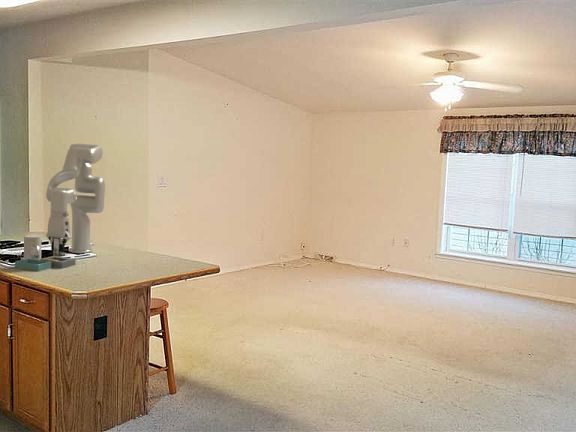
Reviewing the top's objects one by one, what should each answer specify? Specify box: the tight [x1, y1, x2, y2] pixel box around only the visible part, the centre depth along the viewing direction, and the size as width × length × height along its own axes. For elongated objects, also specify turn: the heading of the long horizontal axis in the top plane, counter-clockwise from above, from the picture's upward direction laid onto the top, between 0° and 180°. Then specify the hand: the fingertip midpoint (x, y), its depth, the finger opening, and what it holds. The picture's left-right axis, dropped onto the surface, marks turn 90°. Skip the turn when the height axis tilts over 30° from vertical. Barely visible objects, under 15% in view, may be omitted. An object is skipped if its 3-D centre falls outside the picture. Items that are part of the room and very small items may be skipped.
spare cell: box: [31, 245, 40, 260], centre depth 276 cm, size 4×4×9 cm
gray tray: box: [40, 255, 77, 269], centre depth 275 cm, size 10×13×3 cm
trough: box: [14, 258, 52, 272], centre depth 266 cm, size 9×14×3 cm, turn 73°
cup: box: [23, 234, 42, 260], centre depth 284 cm, size 8×8×12 cm
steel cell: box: [52, 238, 63, 257], centre depth 274 cm, size 4×4×9 cm
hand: (57, 250), depth 274 cm, fingers closed on steel cell, 4 cm apart
